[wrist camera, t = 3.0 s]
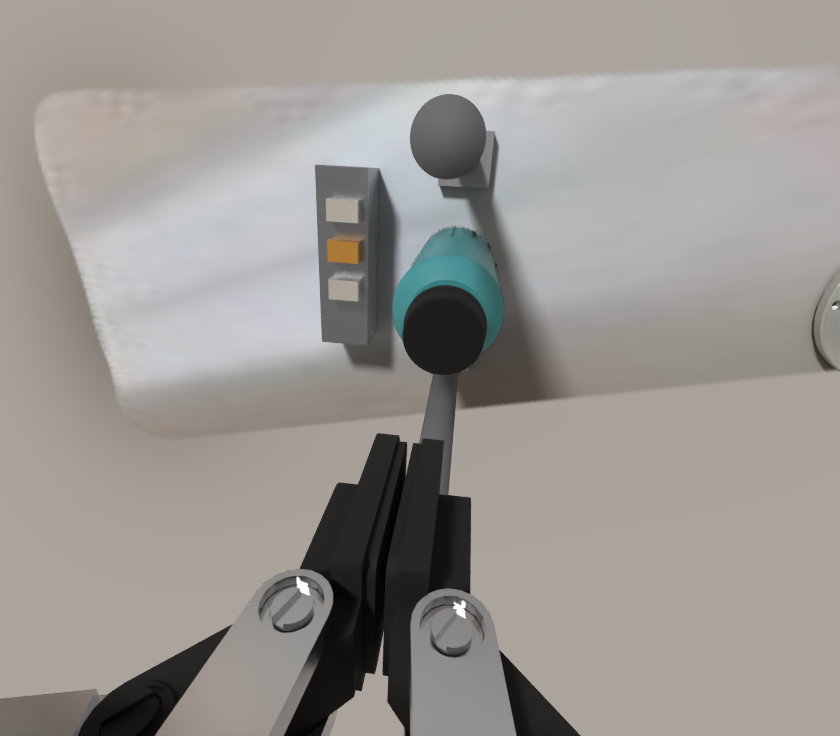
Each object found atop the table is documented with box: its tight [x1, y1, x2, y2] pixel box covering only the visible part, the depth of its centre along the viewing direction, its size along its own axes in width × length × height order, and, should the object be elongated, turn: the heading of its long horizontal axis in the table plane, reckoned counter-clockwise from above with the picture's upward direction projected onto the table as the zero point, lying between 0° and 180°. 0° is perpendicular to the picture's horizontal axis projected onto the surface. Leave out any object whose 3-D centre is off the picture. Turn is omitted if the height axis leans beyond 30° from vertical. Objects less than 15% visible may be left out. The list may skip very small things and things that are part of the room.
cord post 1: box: [410, 94, 495, 189], centre depth 24 cm, size 4×4×26 cm
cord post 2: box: [419, 367, 469, 495], centre depth 30 cm, size 4×4×26 cm
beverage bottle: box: [392, 226, 504, 375], centre depth 30 cm, size 6×7×20 cm
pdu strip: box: [315, 165, 379, 346], centre depth 37 cm, size 4×14×5 cm, turn 177°
